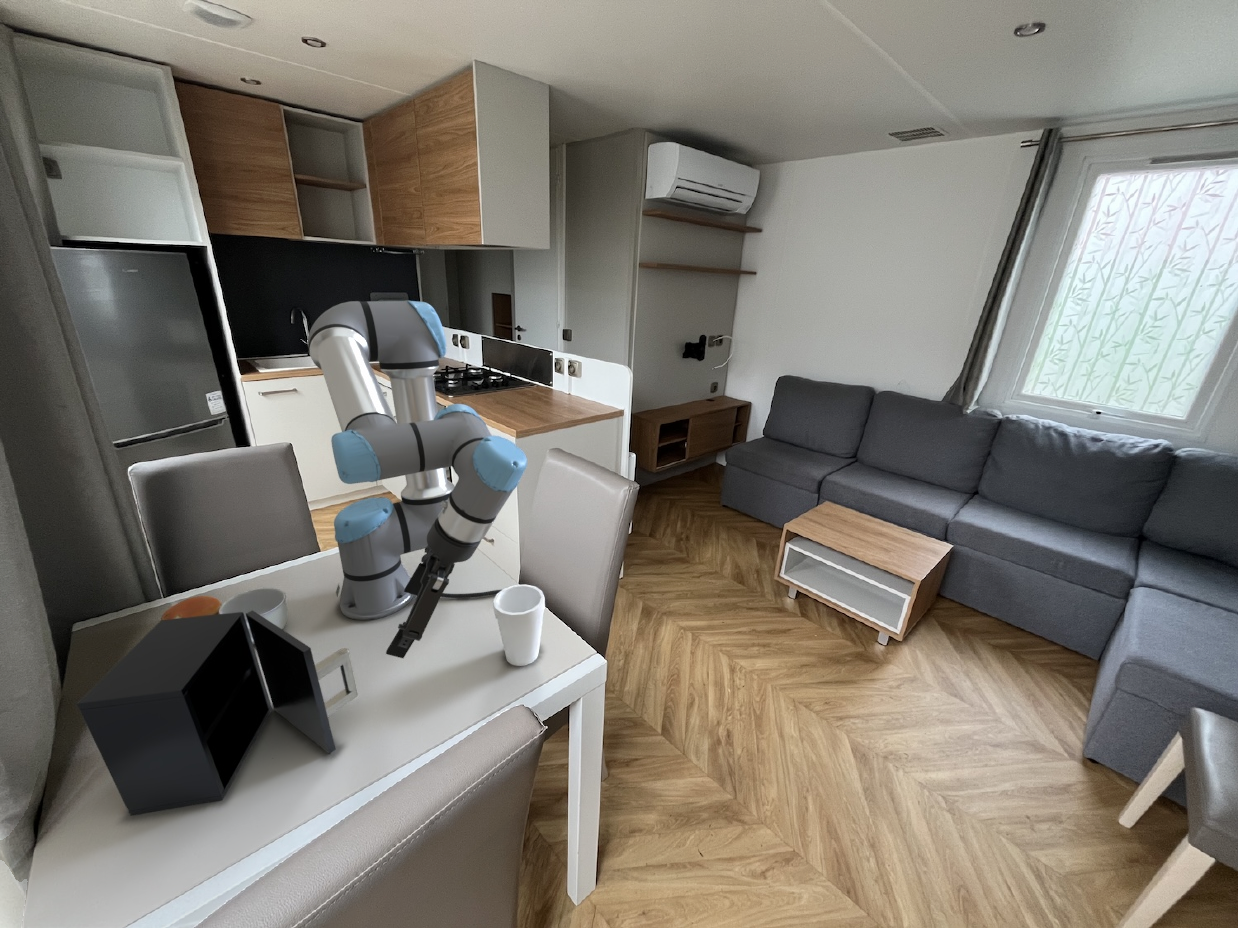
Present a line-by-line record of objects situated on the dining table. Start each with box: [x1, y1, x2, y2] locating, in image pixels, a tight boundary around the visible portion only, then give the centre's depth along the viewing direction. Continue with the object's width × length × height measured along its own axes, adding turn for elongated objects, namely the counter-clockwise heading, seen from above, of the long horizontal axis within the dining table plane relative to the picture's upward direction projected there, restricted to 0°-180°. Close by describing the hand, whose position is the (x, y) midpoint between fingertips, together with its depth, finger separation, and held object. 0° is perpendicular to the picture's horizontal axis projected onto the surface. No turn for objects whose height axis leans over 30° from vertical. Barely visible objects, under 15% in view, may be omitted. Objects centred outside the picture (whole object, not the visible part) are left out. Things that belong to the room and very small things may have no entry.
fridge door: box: [246, 610, 359, 755], centre depth 79 cm, size 7×16×20 cm, turn 60°
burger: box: [160, 595, 223, 621], centre depth 103 cm, size 10×9×5 cm
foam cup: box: [492, 583, 546, 667], centre depth 95 cm, size 10×9×13 cm
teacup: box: [219, 587, 289, 645], centre depth 98 cm, size 14×11×8 cm
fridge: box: [76, 612, 273, 817], centre depth 72 cm, size 11×16×20 cm
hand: (403, 621), depth 82 cm, fingers open, 13 cm apart
